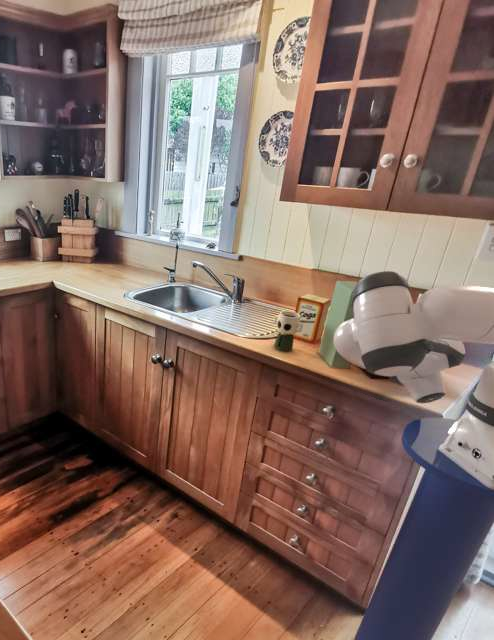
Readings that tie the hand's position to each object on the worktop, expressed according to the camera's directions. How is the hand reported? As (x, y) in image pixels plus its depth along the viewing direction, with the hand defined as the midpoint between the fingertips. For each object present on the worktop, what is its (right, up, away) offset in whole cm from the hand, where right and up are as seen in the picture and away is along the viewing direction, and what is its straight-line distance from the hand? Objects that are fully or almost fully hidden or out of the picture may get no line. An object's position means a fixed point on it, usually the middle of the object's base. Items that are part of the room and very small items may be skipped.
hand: (400, 316), depth 143 cm
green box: (-14, -13, +15) cm, 24 cm away
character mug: (-29, -9, +22) cm, 37 cm away
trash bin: (-1, -15, +13) cm, 20 cm away
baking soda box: (-16, -4, +33) cm, 37 cm away
